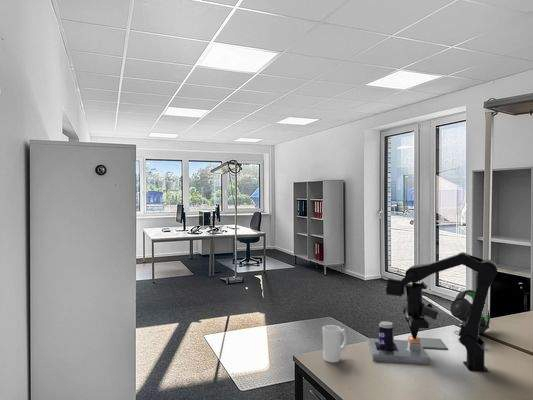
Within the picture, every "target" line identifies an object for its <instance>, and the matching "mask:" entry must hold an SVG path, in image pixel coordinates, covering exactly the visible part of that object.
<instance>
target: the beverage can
mask: <svg viewBox="0 0 533 400" xmlns="http://www.w3.org/2000/svg"><path fill="white" fill-rule="evenodd" d="M394 328H395V327H394V323H393V322H392V321H387V320H382V321H381V320H380V322H379V324H378V339H379V349H378V350H381V351H394V350H395V349H394V340H395V337H394V336H395V333H394V332H395V331H394V330H395V329H394Z"/></svg>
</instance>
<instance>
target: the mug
mask: <svg viewBox="0 0 533 400" xmlns="http://www.w3.org/2000/svg"><path fill="white" fill-rule="evenodd" d="M341 334H342V335H343V339H344V340H343V342H342V345H341ZM347 342H348V336H347V333H346V329H345V328H341V327H340V326H337V325H334V324H327V325H324V326H322V352H323V360H324V361H326V362H327V363H332V364H333V363H338V362H340V360H341V351H345V348H346V345H347Z"/></svg>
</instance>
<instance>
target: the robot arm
mask: <svg viewBox="0 0 533 400" xmlns="http://www.w3.org/2000/svg"><path fill="white" fill-rule="evenodd" d="M462 265H463V266H465V267H467V268H469V269H471V270H473V271H474V272H477V286H476V290H475V292H476V293H475V296H474V300H473V299H472V300H473V301H472V303H471V304H472V308H471V311H470V315H469V318H468V320H467V322H464V321H461V323H460V328H459V330H458V331H459V332H458V333H457V334H458V335H457V336H458V337H459V338H460V341H459V342H460V343H461V344H462V346H463V347H465V350H466V360H465V361H464V360H463V361H462V362H463V364H464V366H465V367H466V368H467V370H469V371H471V372H488V373H489V369H488V367H487V366H486V365H485V361H486V360H485V359H486V358H485V350H486V349H485V348H486V347H485V346H486V341H484V340H483V339H482V338H481V336H480V337H479V335H480V334H479V322H480V319H481V315H482V311H483V308H484V304H486V299H487V297H488V296H487V295H488V293H489V289H490V287H491V285H492V283H494V280H495V278H496V276H497V274H498V265H497V263H496V262H495V261H494V260H492V259H483V258H480V257H478V256H474V255H470V254H469V253H466V252H464V251H462V252H459V253H458V254H457V253H456V254H454V255H452V256H449V257H446V258H442V259H439V260H436V261H434V262H431V263H425V264H417V265H411V266H410V267H408V269H406V271H405V274H404V275H405V276H404V277H403V278H402V279H394V278H391V277H390V278H388V279H387V282H386V288H385V294H386V295H387V296H391V297H396V298H397V297H398V298H402V297H403V296H405V295H406V298H405V303H406V305H404V306H402V307H401V313H402V315H406V317H404V320H405V322H406V325H407V327H408V329H409V332H410V334H411V335H410V336H412V337H413V339H416V337H418V334H419V333H418V332H419V330H420V329H429V326H430V325H429V322H428V321H427V319H426V318H425V316H426V317H429V318H431V319H432V320H436V319H437V318H438V316H439V315H438V314H439V311H438V310H437V309H436V308H434V307H433V304H432V303H430V302H426V303H424V302H423V290H426V289H428V287H429V286H428V285H427V284H426V283H425V281H422V280H424V279H425V278H428V277H429V276H431V275H433V274H436V273H439V272H442V271H446V270H449V269H452V268H456V267H458V266H459V267H460V266H462ZM420 281H422V282H421V283H420Z"/></svg>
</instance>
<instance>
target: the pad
mask: <svg viewBox="0 0 533 400" xmlns="http://www.w3.org/2000/svg"><path fill="white" fill-rule="evenodd" d="M419 338H420V344H421V346H422V347H423V349H427V348H433V349H432V350H447V351H448V350H449V348H448V347H447V345H446V344H445V342H443V340H442V339H441V338H435V337H434V338H432V337H431V338H430V337H419Z"/></svg>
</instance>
